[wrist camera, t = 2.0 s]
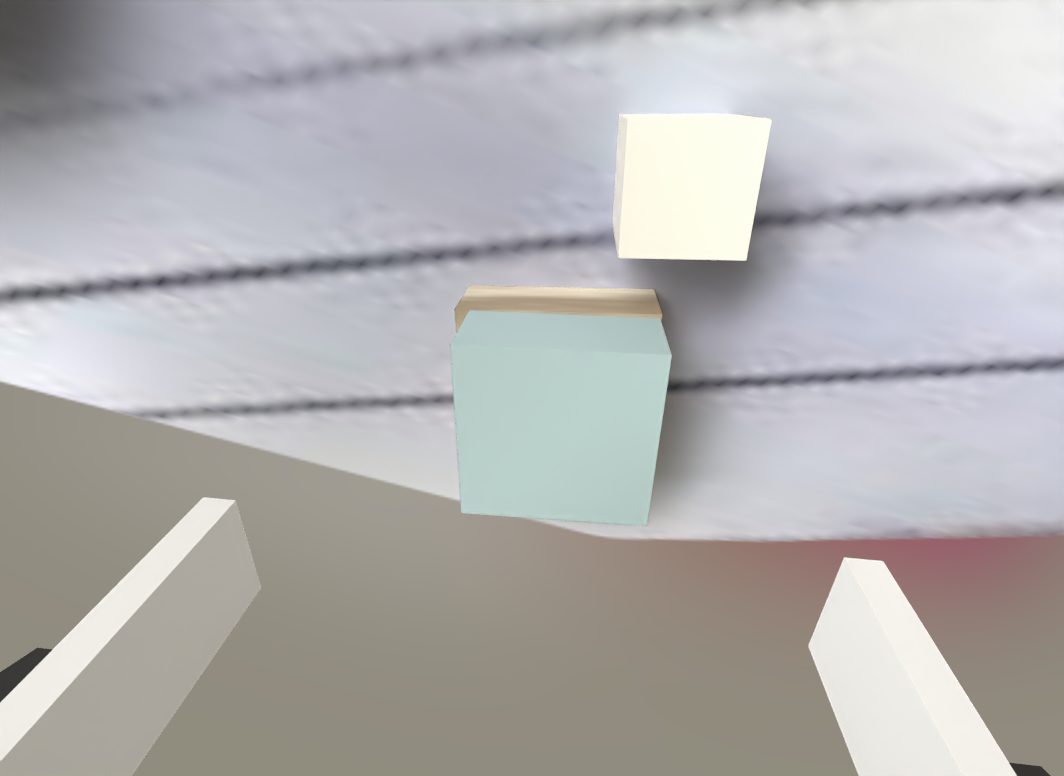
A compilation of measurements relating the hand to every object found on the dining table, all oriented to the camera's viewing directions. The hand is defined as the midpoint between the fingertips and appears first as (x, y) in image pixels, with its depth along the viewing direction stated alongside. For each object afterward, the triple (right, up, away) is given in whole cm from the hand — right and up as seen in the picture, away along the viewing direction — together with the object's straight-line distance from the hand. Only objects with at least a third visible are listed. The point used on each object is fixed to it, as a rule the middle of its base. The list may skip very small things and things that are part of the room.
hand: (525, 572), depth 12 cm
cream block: (+8, +17, +19) cm, 27 cm away
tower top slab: (+2, +3, +22) cm, 22 cm away
